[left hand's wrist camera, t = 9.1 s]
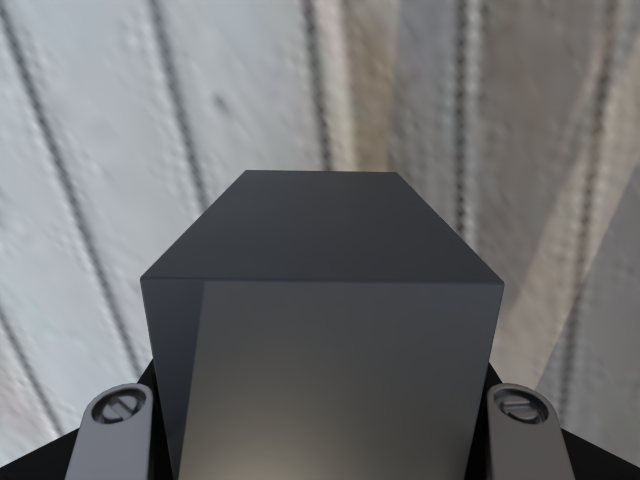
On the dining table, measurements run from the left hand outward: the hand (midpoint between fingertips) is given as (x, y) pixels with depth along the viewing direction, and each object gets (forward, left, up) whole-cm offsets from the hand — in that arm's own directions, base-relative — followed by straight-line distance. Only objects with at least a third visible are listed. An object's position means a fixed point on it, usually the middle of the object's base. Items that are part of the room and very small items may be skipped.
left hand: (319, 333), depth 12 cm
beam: (+4, +36, -4) cm, 36 cm away
